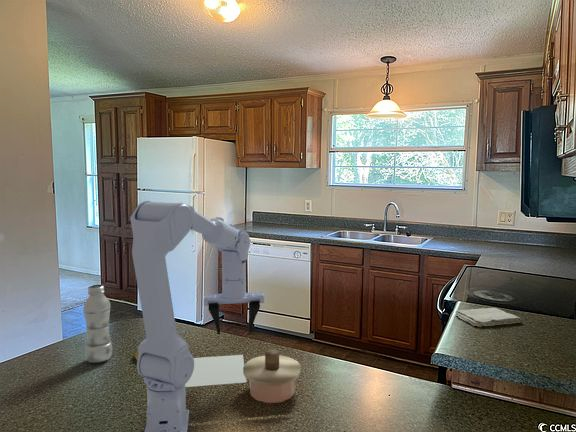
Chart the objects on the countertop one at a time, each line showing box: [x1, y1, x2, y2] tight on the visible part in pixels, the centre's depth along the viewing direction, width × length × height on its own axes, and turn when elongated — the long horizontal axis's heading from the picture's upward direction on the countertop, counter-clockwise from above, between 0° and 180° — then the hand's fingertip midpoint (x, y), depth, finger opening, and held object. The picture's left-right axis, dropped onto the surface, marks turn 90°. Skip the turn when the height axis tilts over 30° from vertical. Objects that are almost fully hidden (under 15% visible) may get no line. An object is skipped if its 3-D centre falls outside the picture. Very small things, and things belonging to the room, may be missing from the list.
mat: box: [185, 354, 247, 388], centre depth 105 cm, size 15×15×1 cm
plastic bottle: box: [83, 283, 113, 364], centre depth 110 cm, size 6×7×20 cm
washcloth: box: [455, 307, 523, 323], centre depth 143 cm, size 12×18×3 cm, turn 105°
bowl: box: [249, 379, 296, 404], centre depth 95 cm, size 10×10×5 cm
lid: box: [243, 349, 302, 386], centre depth 95 cm, size 13×13×4 cm
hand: (234, 331), depth 104 cm, fingers open, 7 cm apart
